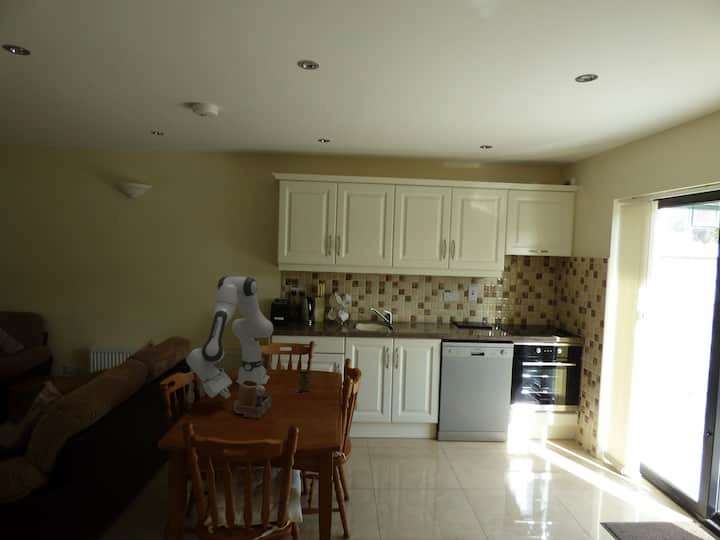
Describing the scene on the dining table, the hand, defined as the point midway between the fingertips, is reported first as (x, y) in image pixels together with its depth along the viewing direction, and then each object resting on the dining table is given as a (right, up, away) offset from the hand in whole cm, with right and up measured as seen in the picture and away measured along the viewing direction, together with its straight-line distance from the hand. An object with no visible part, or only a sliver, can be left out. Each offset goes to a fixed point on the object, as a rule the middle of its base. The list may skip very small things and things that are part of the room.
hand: (228, 397), depth 226 cm
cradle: (+15, -7, -2) cm, 17 cm away
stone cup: (+9, -7, -1) cm, 11 cm away
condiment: (+34, -6, +32) cm, 47 cm away
